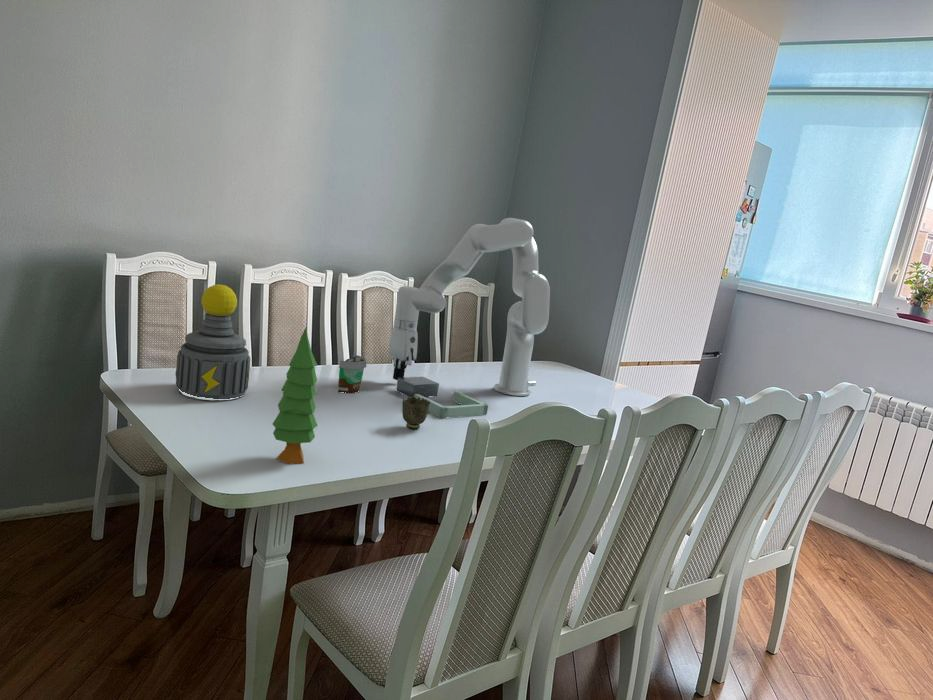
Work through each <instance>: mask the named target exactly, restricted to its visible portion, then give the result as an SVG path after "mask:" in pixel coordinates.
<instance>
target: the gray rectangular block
mask: <svg viewBox="0 0 933 700" xmlns="http://www.w3.org/2000/svg"><path fill="white" fill-rule="evenodd" d="M396 381H397V382H396V383H397V384H396V390H397V392H398V391H399V392H398V393H400V392H401V394H402V393H403V395H405V396H407V397H408V396H409V397H410V398H411V397H412V396H414V395H415V394H420V395H422V396H424V397H426V398H430V397H429V396H434V397H438V393H439V386H440V383H438V382H436V381H434V380H432V379H429V378H427V377H424V376H407V377H405V376H404V378H398V380H396Z"/></svg>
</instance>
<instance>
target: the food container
mask: <svg viewBox="0 0 933 700" xmlns="http://www.w3.org/2000/svg"><path fill="white" fill-rule="evenodd" d="M338 368H339V370H338V371H339V373H338V384H337V385H338V386H337V387H338V388H337V393H340V392H344V393H343V394H356V393H355V392H358V391H359V392H360V391H361V386H362V381H363V375H364V371H365V369H366V368H367V360H366V358H365V357H363V356H360V355H357V354H353V355H352V357H351V358H347V359H346V360H340V362H339V365H338ZM345 392H346V393H345ZM359 392H358V393H359Z"/></svg>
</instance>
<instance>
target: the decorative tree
mask: <svg viewBox="0 0 933 700" xmlns="http://www.w3.org/2000/svg"><path fill="white" fill-rule="evenodd" d="M288 365H289V369H288V370H287V372H286V373H285V374H286V380H285V382H284V384H283V386H282V387H281V389H280V390H281V391H282V395H283V396H282V397H281V398H280V400H279V401H278V404H277V407H278V410H279V411H278V414H277V416H276V417H275V419H274V421H273V423H272V426H274V428H275V429H274V431H273V432H272V434H273V436H274V437H273V438H274V439H275V440H277V441H280V442H285V443H286V446H285V448H284V449H283V450H282V451H281V453H279V455H277V457H278V458H277V460H279V459H280V460H279V462H281V461H283V462H282V463H284V462H286V463H285V464H287V463H290V464H289V465H292V464H291V463H293V465H294V464H295V465H296V464H297V465H300V464H303V465H304V464H305V461H304V453H303V449H302V445H301V444H308V443H312V441H313V440H314V438H316V435H315V431H314V429H315V428H316V427H318V423H317V420H316V417H315V415H314V412H315V409H316V408H317V406H316V403H315V400H314V397H316V396H317V389H316V383H317V381H318V379H317V378H318V377H317V373H316V369H315V367H317V366H318V363H317V361H316V359H315V356H314V353H313V351H312V347H311V344H310V340H309V335H308V330H307V327H305V328H304V330H303V332H302V335H301V336H300V340H299V342H298V344H297V347H296V351H295V352H294V354H293V356H292V357H291V360H290V361H289V364H288Z"/></svg>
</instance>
